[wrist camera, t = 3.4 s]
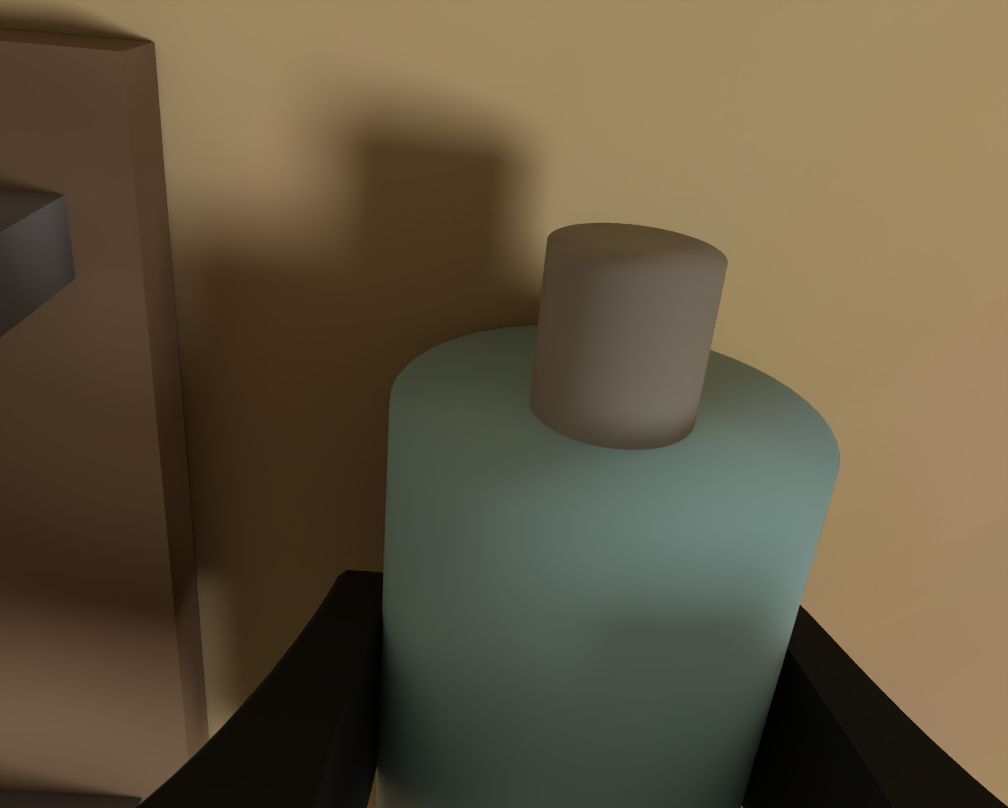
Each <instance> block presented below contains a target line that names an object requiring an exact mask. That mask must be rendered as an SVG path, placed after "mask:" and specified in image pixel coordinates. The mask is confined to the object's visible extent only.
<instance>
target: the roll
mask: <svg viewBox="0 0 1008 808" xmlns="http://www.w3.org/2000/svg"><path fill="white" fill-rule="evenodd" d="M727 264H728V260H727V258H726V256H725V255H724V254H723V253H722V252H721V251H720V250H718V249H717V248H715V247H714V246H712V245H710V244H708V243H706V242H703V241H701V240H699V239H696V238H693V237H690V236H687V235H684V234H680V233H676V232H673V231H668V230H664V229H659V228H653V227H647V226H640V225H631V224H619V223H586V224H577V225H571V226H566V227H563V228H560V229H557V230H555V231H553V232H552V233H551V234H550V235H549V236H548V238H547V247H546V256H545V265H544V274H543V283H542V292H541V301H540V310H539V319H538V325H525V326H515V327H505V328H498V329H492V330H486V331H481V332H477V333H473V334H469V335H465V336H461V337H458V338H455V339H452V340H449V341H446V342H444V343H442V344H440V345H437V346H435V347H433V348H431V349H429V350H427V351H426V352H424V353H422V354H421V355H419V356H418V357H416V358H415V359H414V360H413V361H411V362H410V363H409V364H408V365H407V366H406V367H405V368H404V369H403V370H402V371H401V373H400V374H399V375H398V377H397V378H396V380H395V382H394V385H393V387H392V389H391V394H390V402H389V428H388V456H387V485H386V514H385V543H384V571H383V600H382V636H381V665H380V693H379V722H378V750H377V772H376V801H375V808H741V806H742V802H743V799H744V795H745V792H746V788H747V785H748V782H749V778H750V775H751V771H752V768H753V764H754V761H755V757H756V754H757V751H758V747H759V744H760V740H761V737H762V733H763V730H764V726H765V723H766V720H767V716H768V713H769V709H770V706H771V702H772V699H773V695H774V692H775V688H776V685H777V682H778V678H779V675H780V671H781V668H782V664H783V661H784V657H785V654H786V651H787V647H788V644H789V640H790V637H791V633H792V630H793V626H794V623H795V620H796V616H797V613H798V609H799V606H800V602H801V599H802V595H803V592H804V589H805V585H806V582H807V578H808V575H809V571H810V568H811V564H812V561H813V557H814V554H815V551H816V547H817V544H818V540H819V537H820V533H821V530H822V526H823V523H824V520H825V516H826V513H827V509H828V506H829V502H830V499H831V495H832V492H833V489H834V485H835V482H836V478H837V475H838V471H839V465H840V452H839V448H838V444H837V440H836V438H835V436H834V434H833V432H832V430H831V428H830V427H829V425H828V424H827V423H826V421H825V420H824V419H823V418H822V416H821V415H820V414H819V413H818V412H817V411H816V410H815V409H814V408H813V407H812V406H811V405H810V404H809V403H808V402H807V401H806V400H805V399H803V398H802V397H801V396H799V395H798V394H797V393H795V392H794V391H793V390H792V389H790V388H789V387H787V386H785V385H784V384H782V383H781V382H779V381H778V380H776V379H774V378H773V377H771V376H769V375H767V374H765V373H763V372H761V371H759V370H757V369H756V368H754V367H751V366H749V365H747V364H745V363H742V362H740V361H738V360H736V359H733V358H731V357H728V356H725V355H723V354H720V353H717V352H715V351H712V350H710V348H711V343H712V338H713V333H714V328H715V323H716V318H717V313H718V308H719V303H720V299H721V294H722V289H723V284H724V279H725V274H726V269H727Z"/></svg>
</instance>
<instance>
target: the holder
mask: <svg viewBox="0 0 1008 808" xmlns="http://www.w3.org/2000/svg"><path fill="white" fill-rule="evenodd" d="M208 741H209V735H208V722H207V709H206V697H205V684H204V671H203V658H202V645H201V633H200V620H199V607H198V594H197V581H196V569H195V556H194V543H193V530H192V518H191V505H190V492H189V479H188V466H187V454H186V441H185V428H184V415H183V402H182V390H181V377H180V364H179V351H178V339H177V326H176V313H175V300H174V287H173V275H172V262H171V249H170V236H169V223H168V211H167V198H166V185H165V172H164V159H163V147H162V134H161V121H160V108H159V96H158V83H157V70H156V57H155V44H154V42H147V41H136V40H125V39H114V38H104V37H93V36H82V35H71V34H60V33H49V32H38V31H27V30H17V29H6V28H0V808H136V807H137V806H138V805H139V804H140V803H142V802H143V801H144V800H145V799H146V798H147V797H149V796H150V795H151V794H152V793H153V792H154V791H156V790H157V789H158V788H159V787H160V786H161V785H163V784H164V783H165V782H166V781H167V780H168V779H169V778H170V777H172V776H173V775H174V774H175V773H176V772H177V771H178V770H179V769H180V768H181V767H182V766H183V765H184V764H185V763H186V762H187V761H189V760H190V759H191V758H192V757H193V756H194V755H195V754H196V753H197V752H198V751H199V750H200V749H201V748H202V747H203V746H204V745H205V744H206V743H207V742H208Z"/></svg>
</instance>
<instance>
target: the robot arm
mask: <svg viewBox="0 0 1008 808" xmlns="http://www.w3.org/2000/svg"><path fill="white" fill-rule="evenodd" d="M382 600H383V573H381V572H368V571H354V570H346V571H345V572H343V573H342V574H341V575H339V576H338V577H337V579H336V581H335V583H334V585H333V586H332V588H331V590H330V591H329V593H328V595H327V596H326V598H325V599H324V601H323V602H322V604H321V605H320V607H319V608H318V610H317V611H316V613H315V614H314V616H313V617H312V619H311V620H310V621H309V623H308V624H307V626H306V627H305V628H304V630H303V631H302V633H301V634H300V635H299V637H298V638H297V639H296V641H295V642H294V643H293V644H292V646H291V647H290V648H289V649H288V651H287V652H286V653H285V655H284V656H283V657H282V658H281V660H280V661H279V662H278V664H277V665H276V666H275V667H274V669H273V670H272V671H271V672H270V674H269V675H268V676H267V677H266V678H265V680H264V681H263V682H262V683H261V684H260V685H259V687H258V688H257V689H256V690H255V691H254V692H253V693H252V694H251V696H250V697H249V698H248V699H247V700H246V701H245V702H244V703H243V705H242V706H241V707H240V708H239V709H238V710H237V711H236V712H235V713H234V715H233V716H232V717H231V718H230V719H229V720H228V721H227V722H226V723H225V724H224V726H223V727H222V728H221V729H220V730H219V731H218V732H217V733H216V734H215V735H214V736H213V737H212V738H211V739H210V740H209V741H208V742H207V743H206V744H205V745H204V746H203V747H202V748H201V749H200V750H199V751H198V752H197V753H196V754H195V755H194V756H193V757H192V758H191V759H190V760H189V761H187V762H186V763H185V764H184V765H183V766H182V767H181V768H180V769H179V770H178V771H177V772H176V773H175V774H174V775H173V776H172V777H170V778H169V779H168V780H167V781H166V782H165V783H164V784H163V785H161V786H160V787H159V788H158V789H157V790H156V791H154V792H153V793H152V794H151V795H150V796H149V797H147V798H146V799H145V800H144V801H143V802H142V803H140V804H139V805H138V806H137V807H136V808H367V805H368V801H369V797H370V792H371V788H372V784H373V780H374V776H375V772H376V767H377V750H378V722H379V693H380V665H381V636H382ZM742 807H743V808H1008V806H1006V805H1005V804H1004V803H1003V802H1001V801H1000V800H999V799H998V798H996V797H995V796H994V795H993V794H992V793H991V792H989V791H988V790H987V789H986V788H985V787H984V786H982V785H981V784H980V783H979V782H978V781H977V780H975V779H974V778H973V777H972V776H971V775H970V774H969V773H968V772H966V771H965V770H964V769H963V768H962V767H961V766H960V765H959V764H958V763H957V762H956V761H954V760H953V759H952V758H951V757H950V756H949V755H948V754H947V753H946V752H945V751H943V750H942V749H941V748H940V747H939V746H938V745H937V744H936V743H935V742H934V741H933V740H931V739H930V738H929V737H928V736H927V735H926V734H925V733H924V732H923V731H922V730H921V729H920V728H919V727H918V726H917V725H916V724H915V723H914V722H913V721H912V720H911V719H910V718H909V717H908V716H907V715H906V714H905V713H904V712H903V711H902V710H901V709H900V708H899V707H898V706H897V705H896V704H895V703H894V702H893V701H892V700H891V699H890V698H889V697H888V696H887V695H886V694H885V693H884V692H883V691H882V690H881V689H880V688H879V687H878V686H877V685H876V684H875V683H874V682H873V681H872V680H871V679H870V678H869V677H868V676H867V675H866V674H865V672H864V671H863V670H862V669H861V668H860V667H859V666H858V665H857V664H856V663H855V662H854V661H853V660H852V659H851V658H850V657H849V656H848V654H847V653H846V652H845V651H844V650H843V649H842V648H841V647H840V646H839V645H838V644H837V643H836V642H835V641H834V640H833V639H832V637H831V636H830V635H829V634H828V633H827V632H826V631H825V630H824V629H823V628H822V627H821V626H820V625H819V624H818V623H817V622H816V620H815V619H814V618H813V617H812V616H811V615H810V614H809V613H808V612H807V611H806V610H805V609H804V608H803V607H802V606H801V605H800V606H799V609H798V613H797V616H796V620H795V623H794V626H793V630H792V633H791V637H790V640H789V644H788V647H787V651H786V654H785V657H784V661H783V664H782V668H781V671H780V675H779V678H778V682H777V685H776V688H775V692H774V695H773V699H772V702H771V706H770V709H769V713H768V716H767V720H766V723H765V726H764V730H763V733H762V737H761V740H760V744H759V747H758V751H757V754H756V757H755V761H754V764H753V768H752V771H751V775H750V778H749V782H748V785H747V788H746V792H745V795H744V799H743V802H742Z"/></svg>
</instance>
